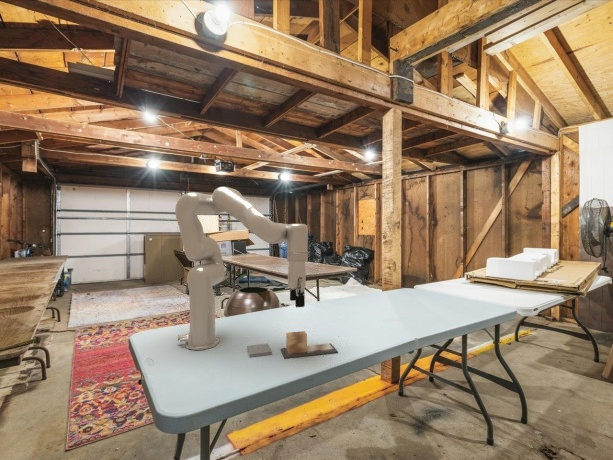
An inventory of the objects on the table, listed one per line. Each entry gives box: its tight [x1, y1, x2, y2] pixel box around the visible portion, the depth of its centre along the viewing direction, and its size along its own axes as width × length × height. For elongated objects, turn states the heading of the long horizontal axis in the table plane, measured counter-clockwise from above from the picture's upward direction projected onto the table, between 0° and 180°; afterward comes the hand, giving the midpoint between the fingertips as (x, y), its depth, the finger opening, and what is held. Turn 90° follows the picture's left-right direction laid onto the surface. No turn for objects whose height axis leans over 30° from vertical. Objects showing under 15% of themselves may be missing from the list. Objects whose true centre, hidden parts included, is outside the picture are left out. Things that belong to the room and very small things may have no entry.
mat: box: [280, 343, 339, 360], centre depth 113 cm, size 20×8×1 cm, turn 105°
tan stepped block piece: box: [285, 330, 333, 354], centre depth 113 cm, size 17×5×6 cm, turn 105°
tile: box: [246, 343, 273, 358], centre depth 112 cm, size 8×2×8 cm
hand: (296, 303), depth 111 cm, fingers open, 9 cm apart
